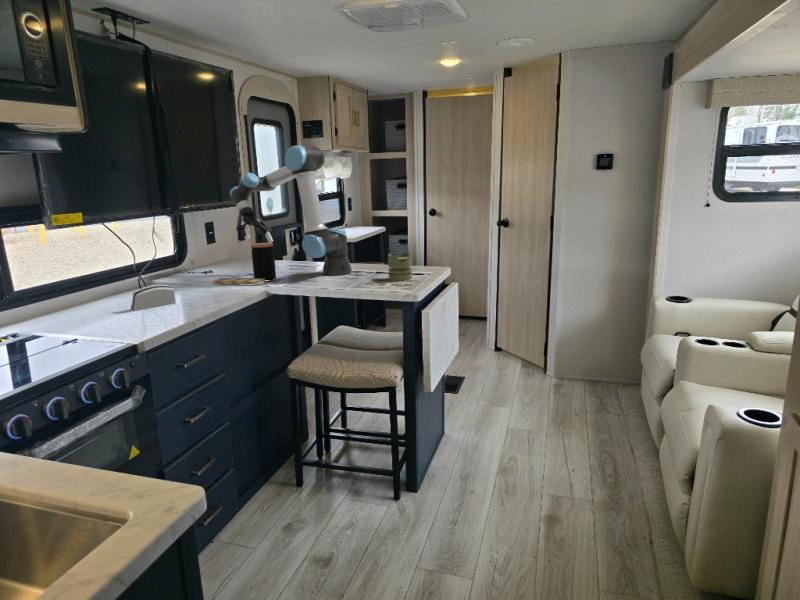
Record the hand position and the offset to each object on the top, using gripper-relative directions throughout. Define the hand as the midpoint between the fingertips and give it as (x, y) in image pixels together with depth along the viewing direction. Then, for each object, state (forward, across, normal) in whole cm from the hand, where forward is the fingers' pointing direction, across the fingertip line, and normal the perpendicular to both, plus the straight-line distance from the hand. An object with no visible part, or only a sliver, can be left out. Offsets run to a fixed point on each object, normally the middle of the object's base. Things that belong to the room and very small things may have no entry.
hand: (260, 241), depth 269 cm
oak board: (+19, +14, -12) cm, 26 cm away
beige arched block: (+34, +59, -10) cm, 69 cm away
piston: (+54, -36, +38) cm, 75 cm away
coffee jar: (+19, +1, -8) cm, 21 cm away
